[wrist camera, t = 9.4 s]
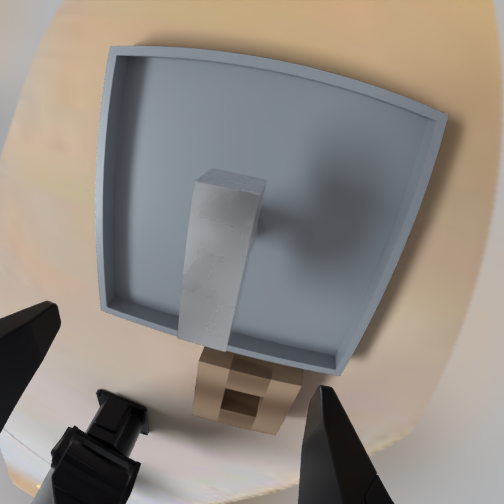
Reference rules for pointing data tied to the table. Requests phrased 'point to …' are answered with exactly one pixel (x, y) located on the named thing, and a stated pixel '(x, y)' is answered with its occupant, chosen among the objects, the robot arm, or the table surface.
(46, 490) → the flask
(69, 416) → the table surface
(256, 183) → the gray rectangular block
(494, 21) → the table surface
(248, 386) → the socket block
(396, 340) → the table surface
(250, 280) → the tray
